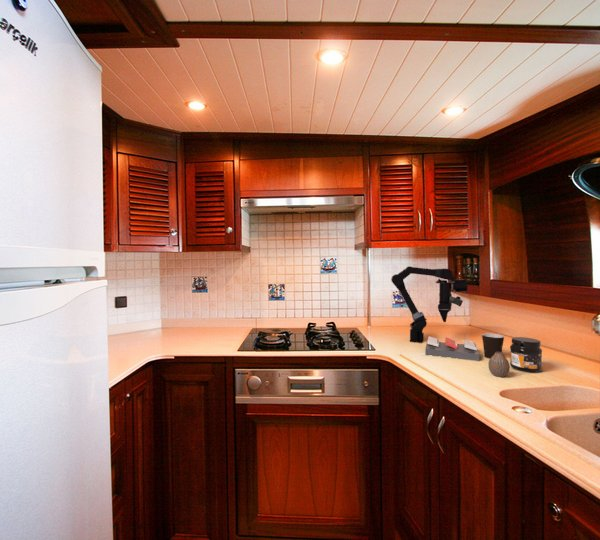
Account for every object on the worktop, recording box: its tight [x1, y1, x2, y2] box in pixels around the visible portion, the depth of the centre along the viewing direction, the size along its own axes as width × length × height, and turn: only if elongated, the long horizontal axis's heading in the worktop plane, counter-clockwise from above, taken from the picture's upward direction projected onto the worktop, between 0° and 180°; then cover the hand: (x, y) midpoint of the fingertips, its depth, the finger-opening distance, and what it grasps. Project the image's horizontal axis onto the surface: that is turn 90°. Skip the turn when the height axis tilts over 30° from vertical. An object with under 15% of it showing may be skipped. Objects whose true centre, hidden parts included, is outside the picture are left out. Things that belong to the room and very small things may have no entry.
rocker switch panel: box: [424, 341, 480, 362], centre depth 150 cm, size 22×16×3 cm
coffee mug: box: [481, 332, 505, 360], centre depth 144 cm, size 12×9×10 cm
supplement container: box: [509, 336, 543, 374], centre depth 128 cm, size 10×10×12 cm
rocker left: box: [426, 336, 440, 347], centre depth 155 cm, size 5×11×1 cm, turn 156°
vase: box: [488, 352, 511, 378], centre depth 120 cm, size 7×7×9 cm
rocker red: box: [444, 336, 458, 349], centre depth 152 cm, size 5×11×1 cm, turn 156°
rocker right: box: [462, 339, 478, 351], centre depth 148 cm, size 5×11×1 cm, turn 156°
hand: (444, 320), depth 170 cm, fingers open, 9 cm apart
